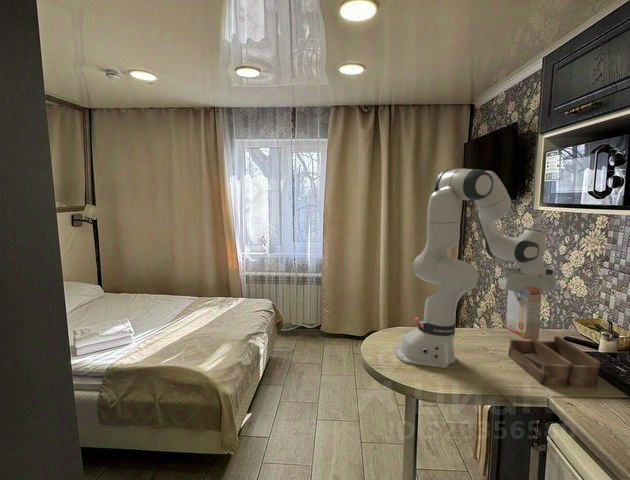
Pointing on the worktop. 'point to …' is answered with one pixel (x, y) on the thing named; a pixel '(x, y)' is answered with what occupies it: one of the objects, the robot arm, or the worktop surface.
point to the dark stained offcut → (536, 360)
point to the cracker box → (524, 313)
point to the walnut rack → (556, 362)
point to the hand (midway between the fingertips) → (525, 301)
